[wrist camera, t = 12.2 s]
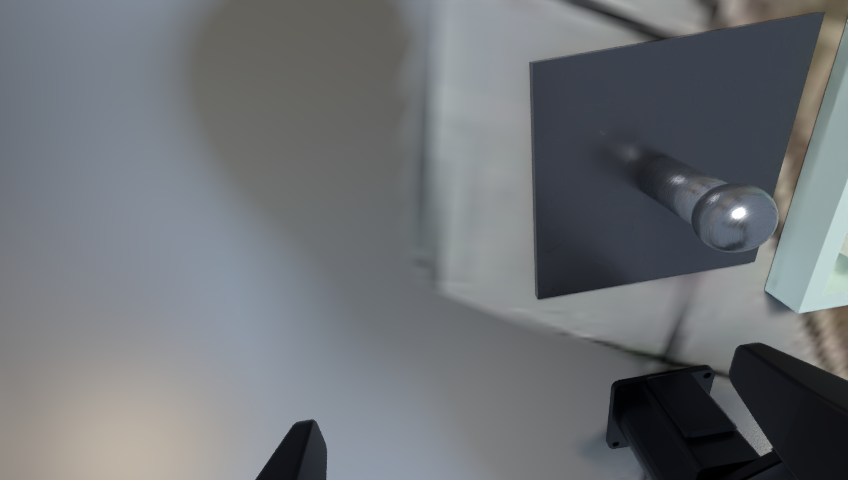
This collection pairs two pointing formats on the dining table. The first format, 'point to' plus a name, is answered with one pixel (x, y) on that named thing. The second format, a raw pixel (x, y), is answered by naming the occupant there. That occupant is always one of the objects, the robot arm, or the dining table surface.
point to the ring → (845, 246)
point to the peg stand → (662, 152)
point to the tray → (818, 209)
